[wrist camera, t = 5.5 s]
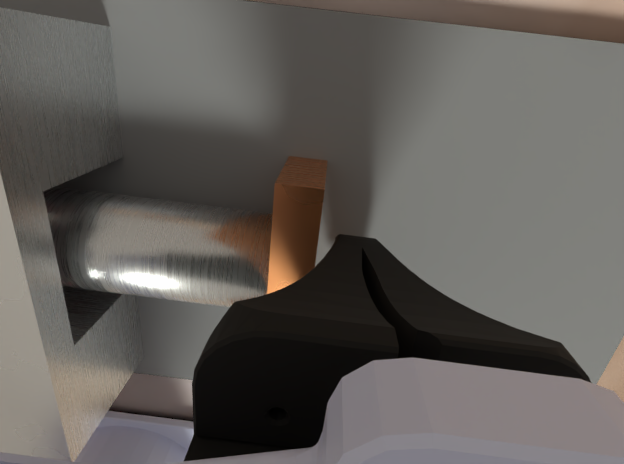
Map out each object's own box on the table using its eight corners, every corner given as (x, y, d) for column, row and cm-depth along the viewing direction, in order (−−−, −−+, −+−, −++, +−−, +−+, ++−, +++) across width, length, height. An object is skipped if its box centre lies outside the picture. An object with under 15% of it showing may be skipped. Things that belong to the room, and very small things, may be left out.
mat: (563, 415, 16) (571, 428, 16) (-27, 341, 16) (-40, 350, 16) (755, 61, 10) (779, 61, 10) (-158, -43, 11) (-185, -49, 10)
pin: (327, 160, 12) (324, 189, 9) (307, 316, 14) (300, 377, 11) (-57, 114, 12) (-177, 128, 9) (-10, 277, 14) (-93, 327, 11)
